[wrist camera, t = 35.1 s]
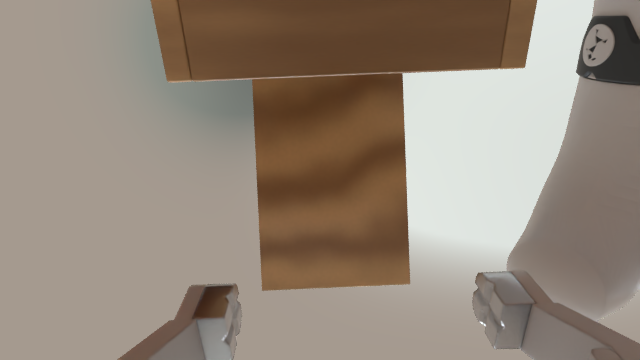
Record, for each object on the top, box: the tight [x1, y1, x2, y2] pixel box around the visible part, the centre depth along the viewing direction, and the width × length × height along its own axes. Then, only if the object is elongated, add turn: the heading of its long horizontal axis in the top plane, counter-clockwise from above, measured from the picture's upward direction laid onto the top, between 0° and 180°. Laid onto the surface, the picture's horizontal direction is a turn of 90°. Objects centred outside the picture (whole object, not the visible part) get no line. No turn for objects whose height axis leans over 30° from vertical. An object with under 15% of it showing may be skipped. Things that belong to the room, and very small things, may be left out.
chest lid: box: [252, 73, 410, 291], centre depth 34 cm, size 21×13×5 cm
